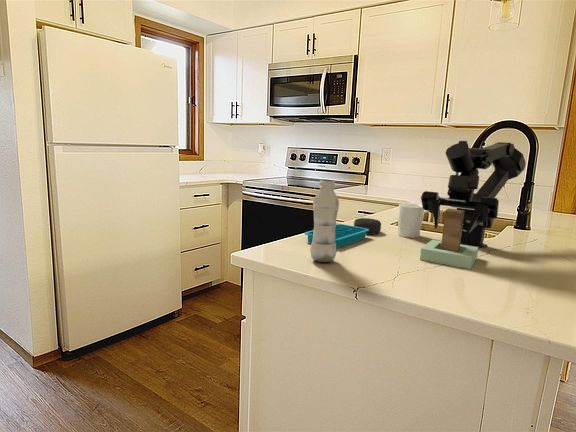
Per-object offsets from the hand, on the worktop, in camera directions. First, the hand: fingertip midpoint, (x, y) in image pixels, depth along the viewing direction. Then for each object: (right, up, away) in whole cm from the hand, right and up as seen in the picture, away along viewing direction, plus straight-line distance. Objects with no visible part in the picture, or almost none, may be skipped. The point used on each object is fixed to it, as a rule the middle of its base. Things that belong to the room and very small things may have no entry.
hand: (451, 229), depth 101 cm
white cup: (-3, -3, +28) cm, 28 cm away
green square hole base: (0, -8, +3) cm, 8 cm away
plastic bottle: (-33, -8, -4) cm, 35 cm away
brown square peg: (0, -8, +3) cm, 8 cm away
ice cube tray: (-27, -4, +19) cm, 33 cm away
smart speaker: (-16, -2, +31) cm, 35 cm away
